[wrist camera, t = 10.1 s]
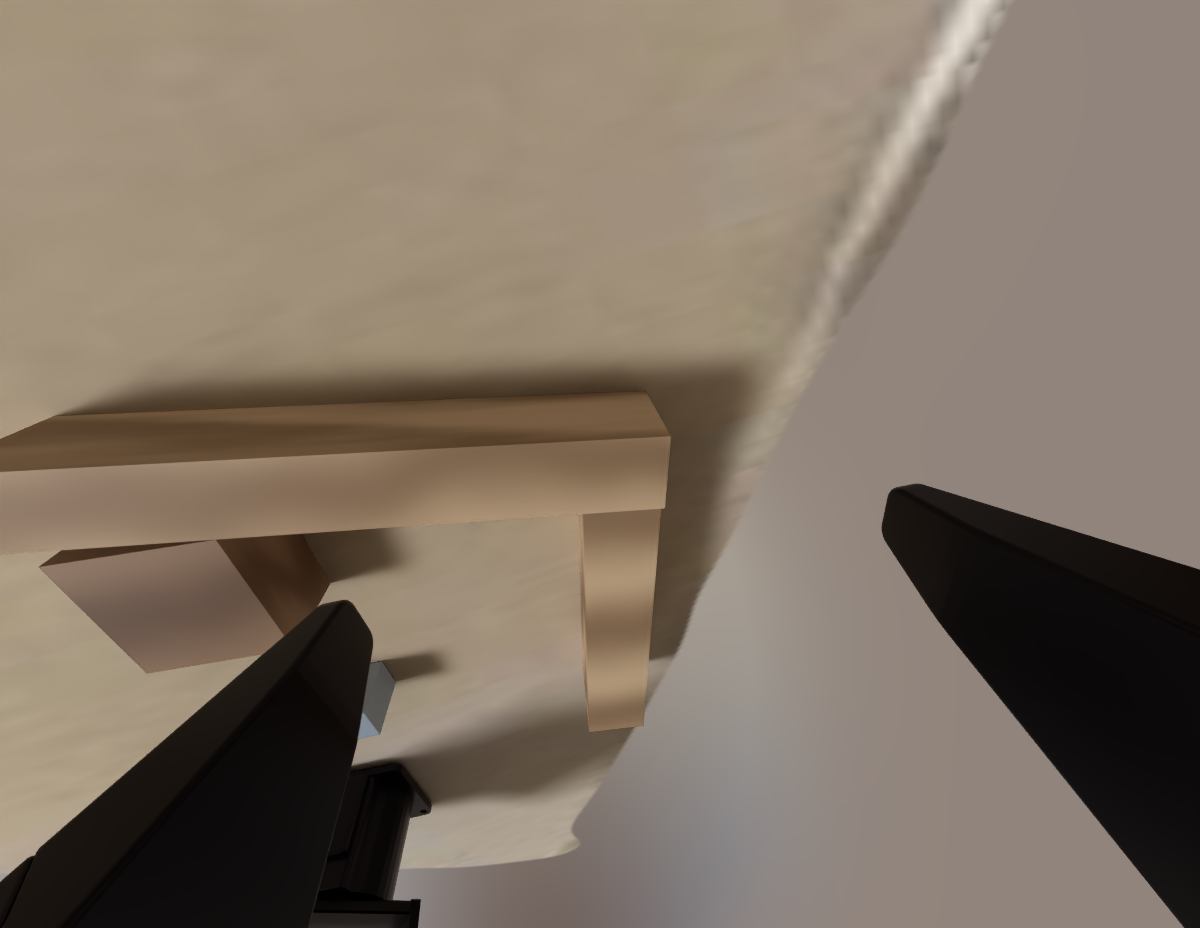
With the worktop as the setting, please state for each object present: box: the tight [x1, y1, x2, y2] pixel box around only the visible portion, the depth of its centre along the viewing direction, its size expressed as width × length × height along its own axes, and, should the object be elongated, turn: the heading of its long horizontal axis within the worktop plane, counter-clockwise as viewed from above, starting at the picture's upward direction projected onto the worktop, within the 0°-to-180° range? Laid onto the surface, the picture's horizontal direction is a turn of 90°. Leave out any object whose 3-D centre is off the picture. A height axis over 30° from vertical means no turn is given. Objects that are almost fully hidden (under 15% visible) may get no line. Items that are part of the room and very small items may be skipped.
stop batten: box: [358, 661, 396, 739], centre depth 24 cm, size 2×8×3 cm, turn 99°
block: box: [39, 534, 330, 673], centre depth 19 cm, size 6×6×4 cm
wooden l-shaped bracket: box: [0, 391, 671, 732], centre depth 20 cm, size 18×22×4 cm
